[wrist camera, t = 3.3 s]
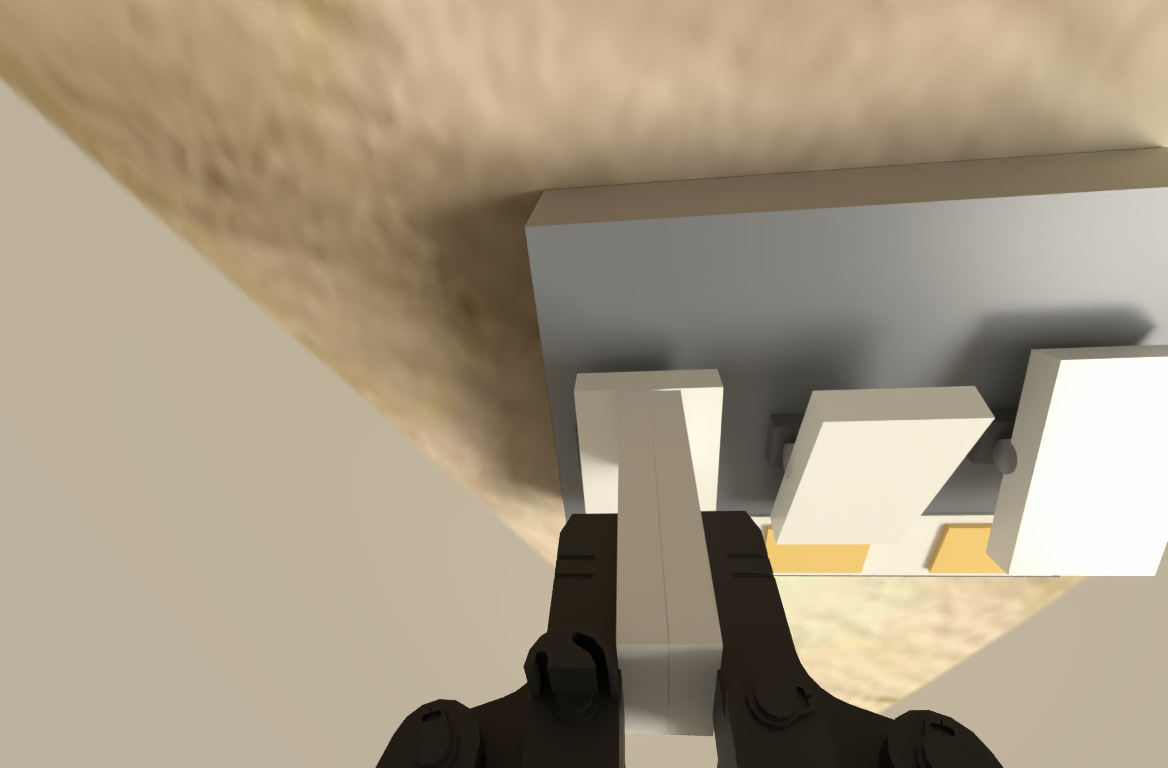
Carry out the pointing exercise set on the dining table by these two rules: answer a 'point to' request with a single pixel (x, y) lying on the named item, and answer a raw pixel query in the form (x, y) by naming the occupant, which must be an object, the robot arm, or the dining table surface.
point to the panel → (851, 309)
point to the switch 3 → (1086, 465)
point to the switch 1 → (602, 428)
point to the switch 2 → (873, 461)
